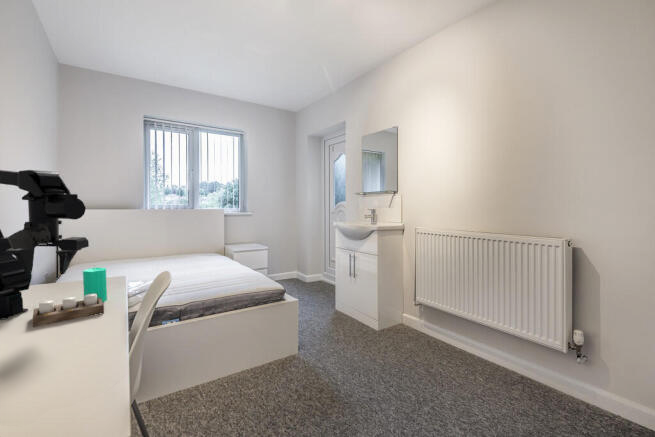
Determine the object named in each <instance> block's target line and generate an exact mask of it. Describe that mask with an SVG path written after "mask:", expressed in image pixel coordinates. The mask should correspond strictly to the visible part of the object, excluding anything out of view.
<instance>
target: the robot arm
mask: <svg viewBox="0 0 655 437" xmlns="http://www.w3.org/2000/svg"><path fill="white" fill-rule="evenodd" d="M0 185H6V186H8V185H9V186H15V187H17V188H18V189H19V190H22V191H26V192H27V193H26V194H24V195H23V196H22V197H21V200H22V201H27V203H28V204H27V206H28V210H27V211H28V221H25V222H24V224H23V229H20V230H18V231H16V232H14V233H13V234H11V235H9V236H6V237H5V236H4V234H3V232H2V230H1V229H0V320H5V319H6V320H7V319H9V318H12V317H15V316H17V315H20V314H22V313H25V312H28V311H29V308H24V300H23V299H24V298H23V296H22V292H23V291H26V290H29V288H30V284H31V282H32V277H33V274H32V271H33V267H34V257H35V250H36V249H35V248H37V247H58V248H59V249H60V250H56V251H55V253H56V254H57V256H58V258H59V261H58V264H59V275H60V276H61V275H65V274H66V272H67V269H68V268H69V266H70V264H71V262H72V260H73V259H74V257H75V256H76V255H77V252H78V251H81V250H82V249H84V248H88V247H89V246H90V244H89V239H87V238H86V237H85V236H72V237H66V238H63V235H62V234H59V225H62V220H60V219H63V220H73V221H74V220H78V219H81V218H82V217H83V216H85V212H86V208H87V207H86V205H85V203H84V201H82V200H81V199H80V198H78V193H71V191H70V189H69V188H68V187H67V185H66V184H65V182H64V181H63V179H62V178H61V176H60V174H59V173H58V172H57V171H49V170H34V169H27V170H26V169H24V170H19V171H15V170H14V171H12V170H6V169H5V170H4V169H0Z"/></svg>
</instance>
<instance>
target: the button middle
mask: <svg viewBox="0 0 655 437" xmlns="http://www.w3.org/2000/svg"><path fill="white" fill-rule="evenodd" d="M76 302H77V297H76V296H69V297H65V298H63V299H62V304H63V310H66V309H72V308H77V306H76Z"/></svg>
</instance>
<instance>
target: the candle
mask: <svg viewBox="0 0 655 437" xmlns="http://www.w3.org/2000/svg"><path fill="white" fill-rule="evenodd" d="M82 278H83V279H82V281H83V282H82V284H83V297H84V296H85V295H88V294H97V298H101V300H102V302H103V303H104V302H106V301H107V300H108V292H107V291H108V289H107V284H108V283H107V268H106V267H99V266H98V267H96V265H95V264H94V267H90V268H87V269H84V270H82Z"/></svg>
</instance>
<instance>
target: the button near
mask: <svg viewBox="0 0 655 437" xmlns="http://www.w3.org/2000/svg"><path fill="white" fill-rule="evenodd" d="M54 305H55V301H54V300H45V301H41V302H39V303H38V308H39V314H44V313H50V312H54Z"/></svg>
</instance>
